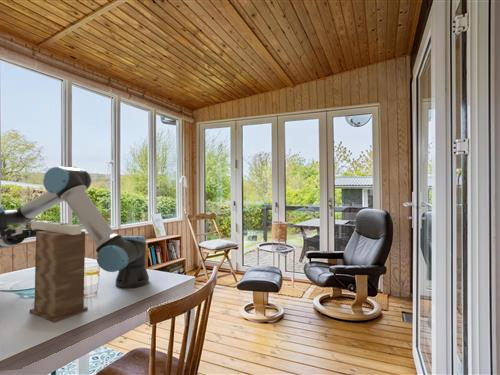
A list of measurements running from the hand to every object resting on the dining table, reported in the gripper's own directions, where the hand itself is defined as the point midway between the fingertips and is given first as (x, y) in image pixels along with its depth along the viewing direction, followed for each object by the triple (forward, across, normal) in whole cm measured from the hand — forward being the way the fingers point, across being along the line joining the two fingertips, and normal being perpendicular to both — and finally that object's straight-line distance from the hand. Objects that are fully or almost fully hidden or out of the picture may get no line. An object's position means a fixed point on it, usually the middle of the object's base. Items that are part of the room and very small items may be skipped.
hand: (39, 229), depth 123 cm
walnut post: (+13, +2, -33) cm, 36 cm away
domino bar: (+17, +4, -3) cm, 18 cm away
